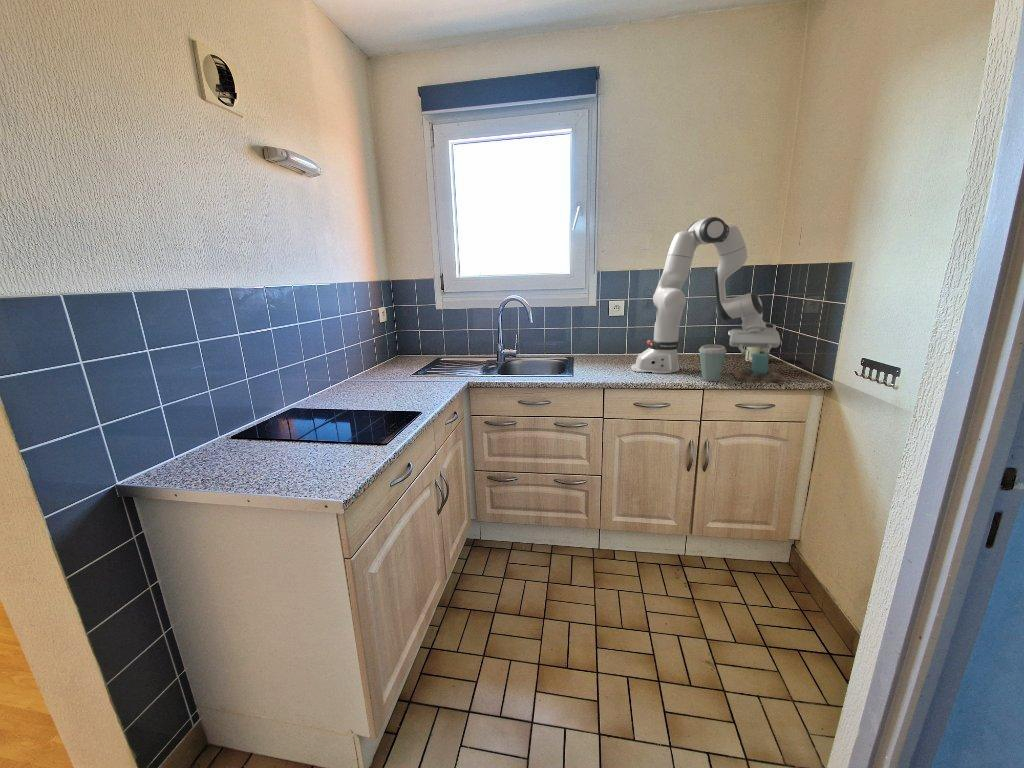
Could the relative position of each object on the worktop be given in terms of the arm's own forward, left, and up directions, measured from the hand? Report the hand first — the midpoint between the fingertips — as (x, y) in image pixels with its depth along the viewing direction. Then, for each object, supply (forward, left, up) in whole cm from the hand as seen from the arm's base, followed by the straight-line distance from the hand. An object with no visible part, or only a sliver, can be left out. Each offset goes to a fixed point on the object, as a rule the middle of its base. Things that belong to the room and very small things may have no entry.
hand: (755, 353), depth 184 cm
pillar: (-2, -9, -8) cm, 12 cm away
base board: (-2, -9, -9) cm, 13 cm away
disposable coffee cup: (-23, -12, -9) cm, 27 cm away
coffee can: (+12, +27, -9) cm, 31 cm away
